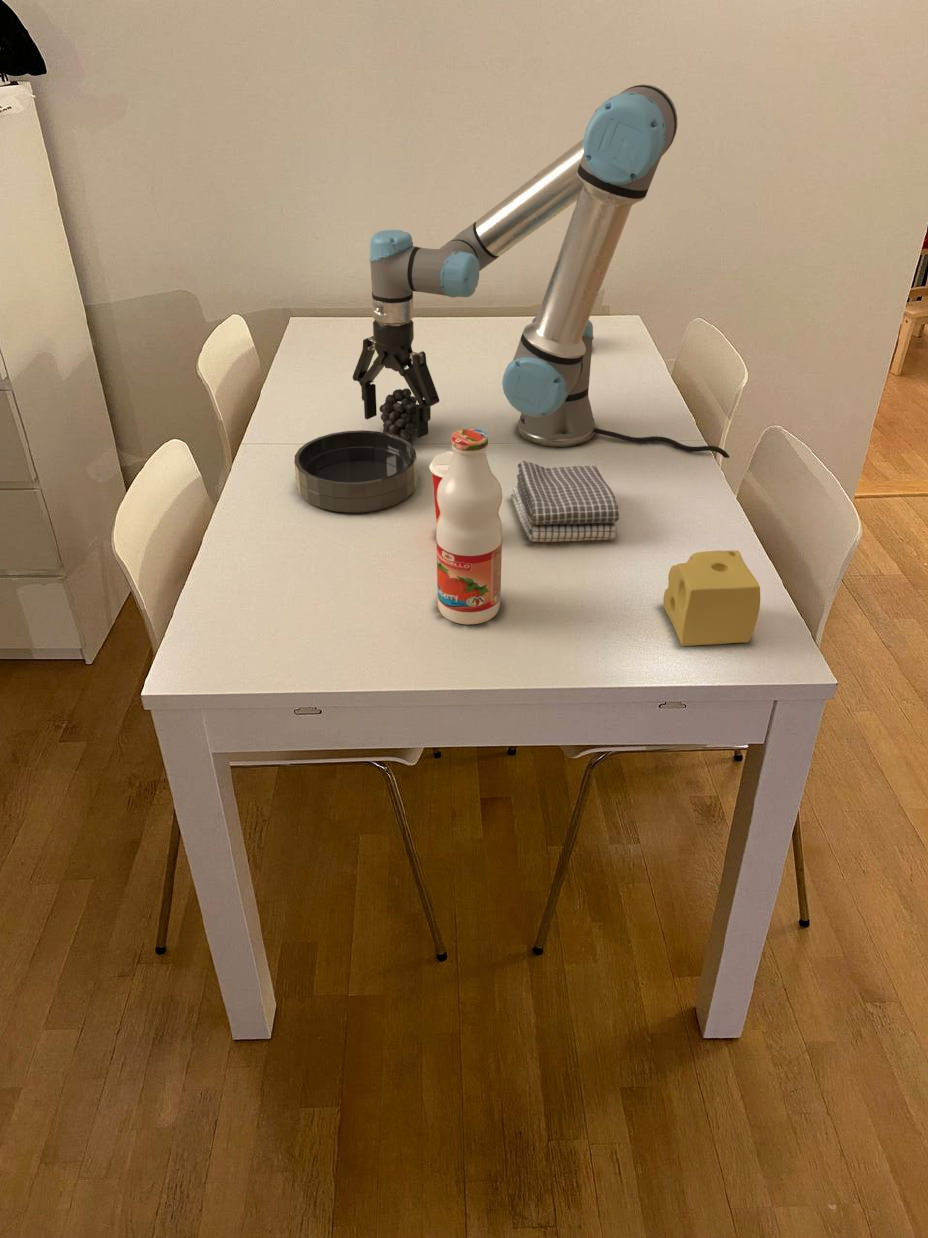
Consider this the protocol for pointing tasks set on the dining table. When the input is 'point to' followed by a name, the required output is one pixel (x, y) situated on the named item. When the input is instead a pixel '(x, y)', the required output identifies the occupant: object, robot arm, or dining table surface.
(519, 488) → the towel
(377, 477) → the bowl
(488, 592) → the fruit juice
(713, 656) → the dining table surface
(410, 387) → the robot arm
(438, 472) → the paper cup
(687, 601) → the cheese
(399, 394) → the fruit
